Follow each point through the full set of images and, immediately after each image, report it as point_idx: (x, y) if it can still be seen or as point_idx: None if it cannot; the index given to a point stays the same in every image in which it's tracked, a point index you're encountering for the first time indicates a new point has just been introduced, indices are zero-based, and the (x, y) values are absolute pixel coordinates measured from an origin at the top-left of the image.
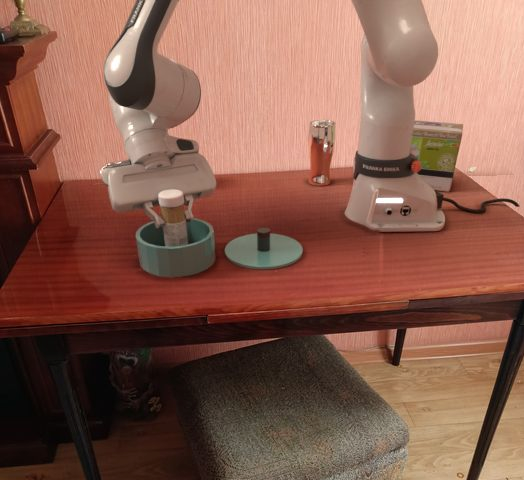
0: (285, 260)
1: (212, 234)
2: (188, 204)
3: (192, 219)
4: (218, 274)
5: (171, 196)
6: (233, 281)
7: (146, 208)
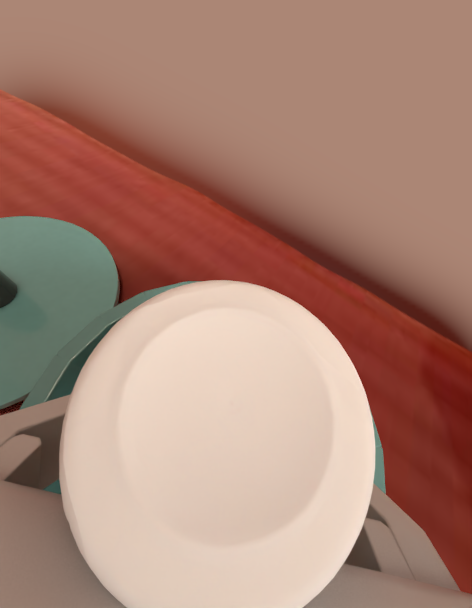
0: (37, 226)
1: (119, 304)
2: (51, 435)
3: None
4: None
5: (277, 305)
6: (176, 263)
7: (419, 531)
